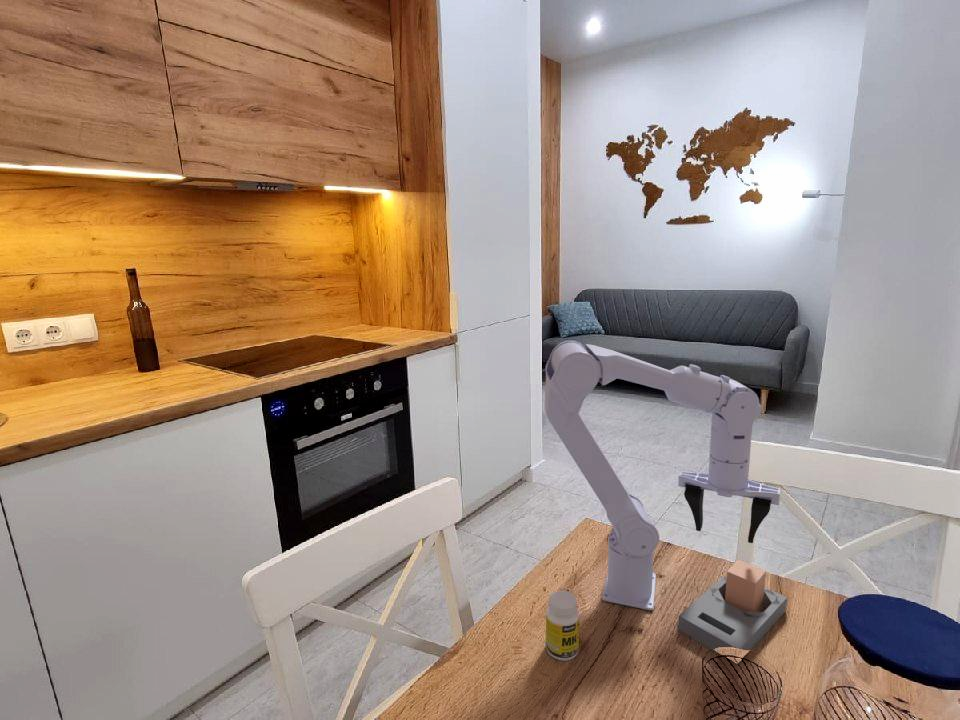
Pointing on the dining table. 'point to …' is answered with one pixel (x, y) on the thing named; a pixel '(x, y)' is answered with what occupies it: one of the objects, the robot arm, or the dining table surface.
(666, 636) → the dining table surface
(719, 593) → the socket board
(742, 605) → the peg
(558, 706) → the dining table surface
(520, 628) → the dining table surface
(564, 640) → the supplement bottle
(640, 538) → the robot arm
